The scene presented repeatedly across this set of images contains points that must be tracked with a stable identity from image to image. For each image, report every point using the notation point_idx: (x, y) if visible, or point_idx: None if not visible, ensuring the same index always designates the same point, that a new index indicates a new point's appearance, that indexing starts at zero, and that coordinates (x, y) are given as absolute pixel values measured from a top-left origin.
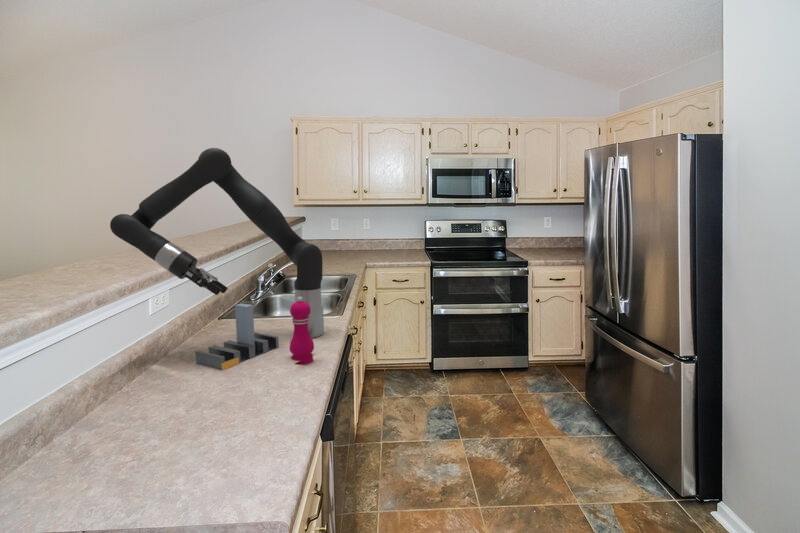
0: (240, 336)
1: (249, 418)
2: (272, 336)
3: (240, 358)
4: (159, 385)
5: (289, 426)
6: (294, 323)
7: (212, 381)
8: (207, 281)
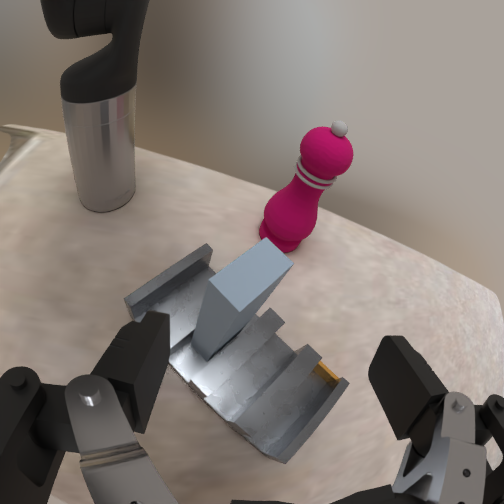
0: (227, 339)
1: (445, 322)
2: (197, 255)
3: (298, 349)
4: (350, 493)
5: (449, 284)
6: (329, 187)
7: (354, 401)
8: (464, 408)
